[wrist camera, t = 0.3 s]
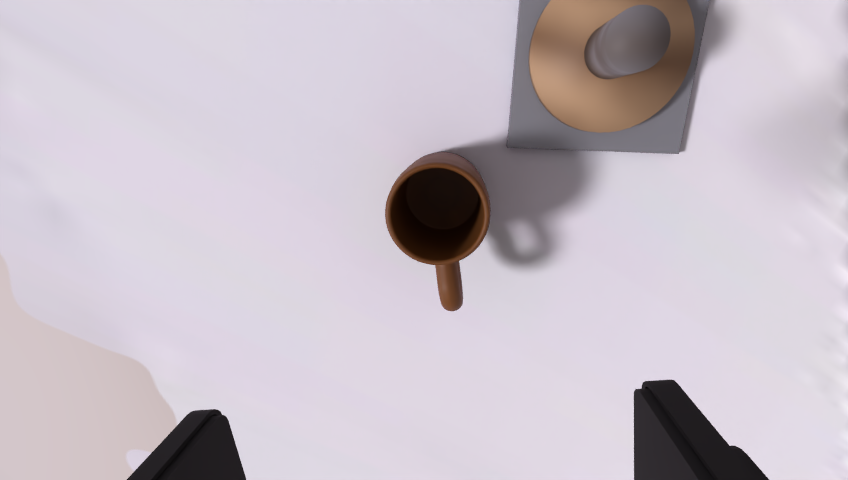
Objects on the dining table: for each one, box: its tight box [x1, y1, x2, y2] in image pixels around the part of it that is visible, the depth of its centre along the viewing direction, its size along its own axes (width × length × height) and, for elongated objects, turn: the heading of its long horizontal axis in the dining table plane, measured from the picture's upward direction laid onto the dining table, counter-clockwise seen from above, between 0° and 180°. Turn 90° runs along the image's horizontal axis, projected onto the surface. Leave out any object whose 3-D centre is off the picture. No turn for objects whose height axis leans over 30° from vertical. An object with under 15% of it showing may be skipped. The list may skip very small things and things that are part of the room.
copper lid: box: [529, 0, 695, 133], centre depth 30 cm, size 12×12×6 cm
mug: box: [385, 152, 490, 311], centre depth 34 cm, size 12×8×9 cm, turn 9°
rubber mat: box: [507, 0, 709, 154], centre depth 33 cm, size 15×14×1 cm
